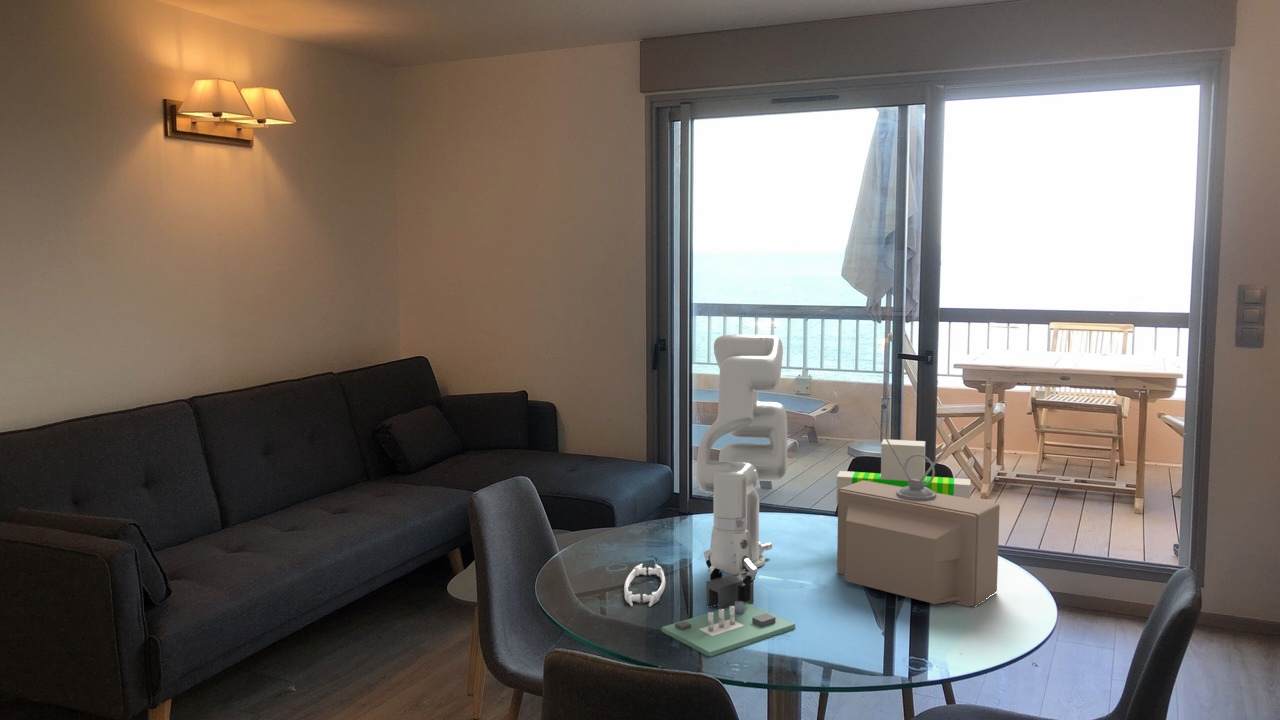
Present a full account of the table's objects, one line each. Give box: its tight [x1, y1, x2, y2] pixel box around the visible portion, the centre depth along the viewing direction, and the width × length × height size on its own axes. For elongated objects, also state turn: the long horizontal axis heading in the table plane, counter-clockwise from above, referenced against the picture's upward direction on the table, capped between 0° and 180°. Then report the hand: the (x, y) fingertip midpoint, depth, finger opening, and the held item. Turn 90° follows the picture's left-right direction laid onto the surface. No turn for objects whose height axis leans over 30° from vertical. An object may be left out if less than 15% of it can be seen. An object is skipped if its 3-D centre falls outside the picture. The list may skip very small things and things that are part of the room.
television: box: [836, 416, 1001, 607], centre depth 224 cm, size 36×20×40 cm, turn 47°
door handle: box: [623, 563, 666, 608], centre depth 227 cm, size 3×10×25 cm
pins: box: [707, 605, 735, 632], centre depth 199 cm, size 7×1×4 cm, turn 126°
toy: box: [835, 438, 971, 505], centre depth 250 cm, size 34×7×30 cm, turn 71°
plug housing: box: [705, 574, 755, 610], centre depth 215 cm, size 10×5×6 cm, turn 126°
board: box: [661, 601, 796, 658], centre depth 201 cm, size 24×16×3 cm, turn 126°
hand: (729, 595), depth 215 cm, fingers open, 9 cm apart
